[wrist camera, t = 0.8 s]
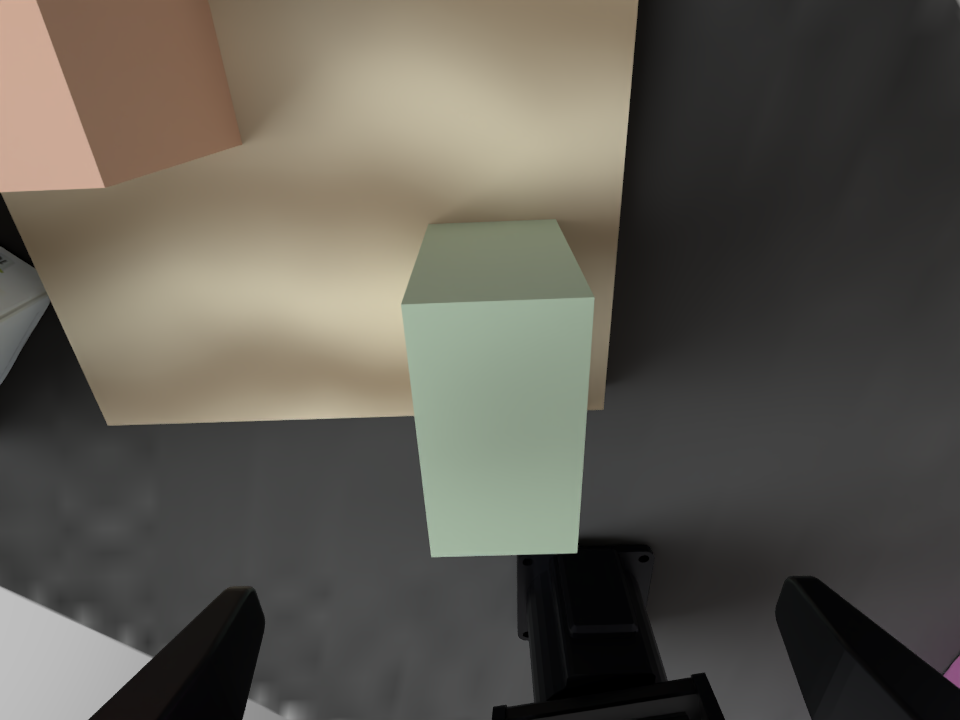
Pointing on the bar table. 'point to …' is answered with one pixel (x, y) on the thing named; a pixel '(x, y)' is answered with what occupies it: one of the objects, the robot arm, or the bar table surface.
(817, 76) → the bar table surface
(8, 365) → the tea box
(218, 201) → the shelf board
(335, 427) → the bar table surface
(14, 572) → the bar table surface
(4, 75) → the pink box
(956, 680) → the gum box
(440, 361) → the sage carton
